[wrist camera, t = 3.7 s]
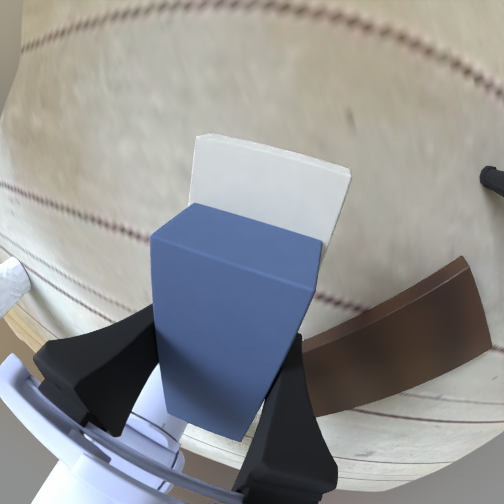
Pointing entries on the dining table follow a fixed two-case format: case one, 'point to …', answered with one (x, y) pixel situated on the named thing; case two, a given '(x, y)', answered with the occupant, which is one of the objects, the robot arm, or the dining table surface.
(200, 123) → the dining table surface
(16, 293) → the white cup
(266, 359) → the blue and white eraser
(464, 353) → the shoe shelf
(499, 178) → the high-heeled shoe
